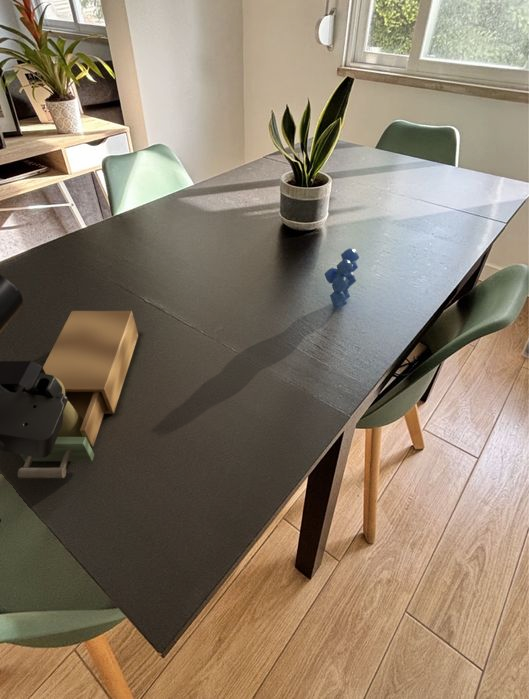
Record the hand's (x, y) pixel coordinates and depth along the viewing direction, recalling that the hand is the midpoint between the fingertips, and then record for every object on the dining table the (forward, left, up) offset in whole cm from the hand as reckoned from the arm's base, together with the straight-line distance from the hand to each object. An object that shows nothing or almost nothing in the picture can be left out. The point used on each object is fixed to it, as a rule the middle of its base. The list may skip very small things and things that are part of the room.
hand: (14, 481), depth 47 cm
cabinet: (+21, +20, -13) cm, 32 cm away
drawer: (+12, +12, -12) cm, 21 cm away
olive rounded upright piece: (+10, +11, -11) cm, 18 cm away
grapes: (+66, -4, -13) cm, 67 cm away
